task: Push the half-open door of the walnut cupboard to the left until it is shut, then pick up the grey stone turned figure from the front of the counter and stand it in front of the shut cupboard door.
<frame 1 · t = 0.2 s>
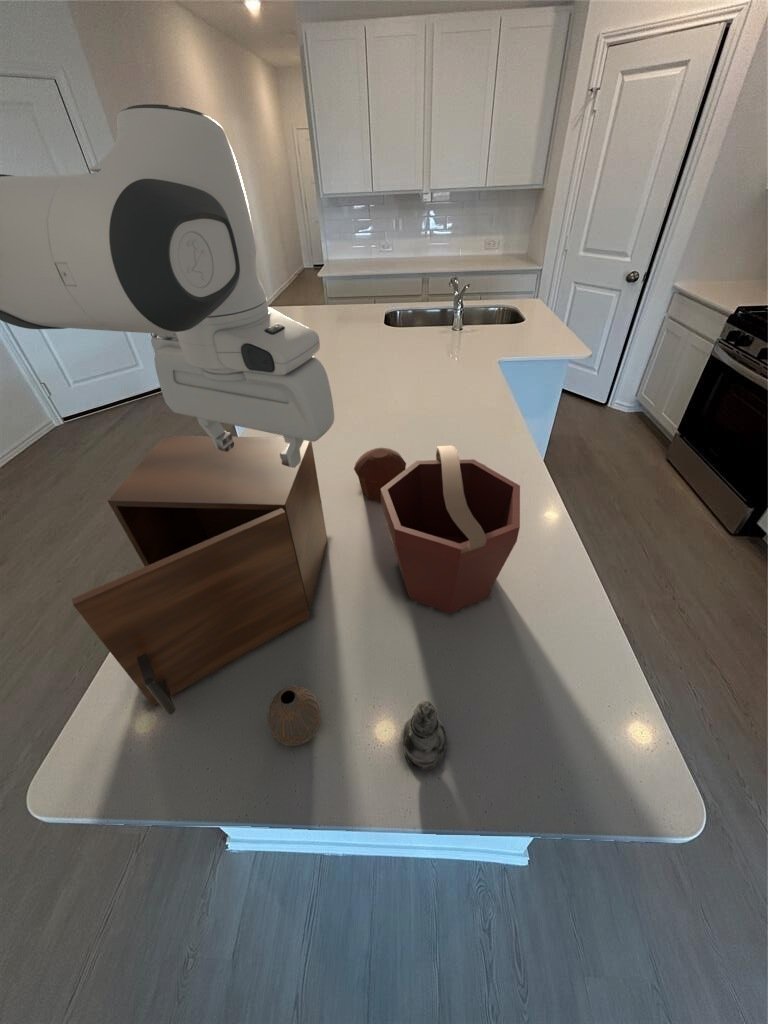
hand: (257, 456, 51), 34 cm above the counter, tool pointing down, fingers open, 8 cm apart
grey stone turned figure: (423, 749, 59), on the counter
bucket: (441, 576, 82), on the counter
cupboard: (252, 570, 84), on the counter
vase: (298, 727, 61), on the counter
cupboard door: (221, 621, 61), point 12 cm above the counter, hinge at 40.0°
muffin: (381, 490, 102), on the counter
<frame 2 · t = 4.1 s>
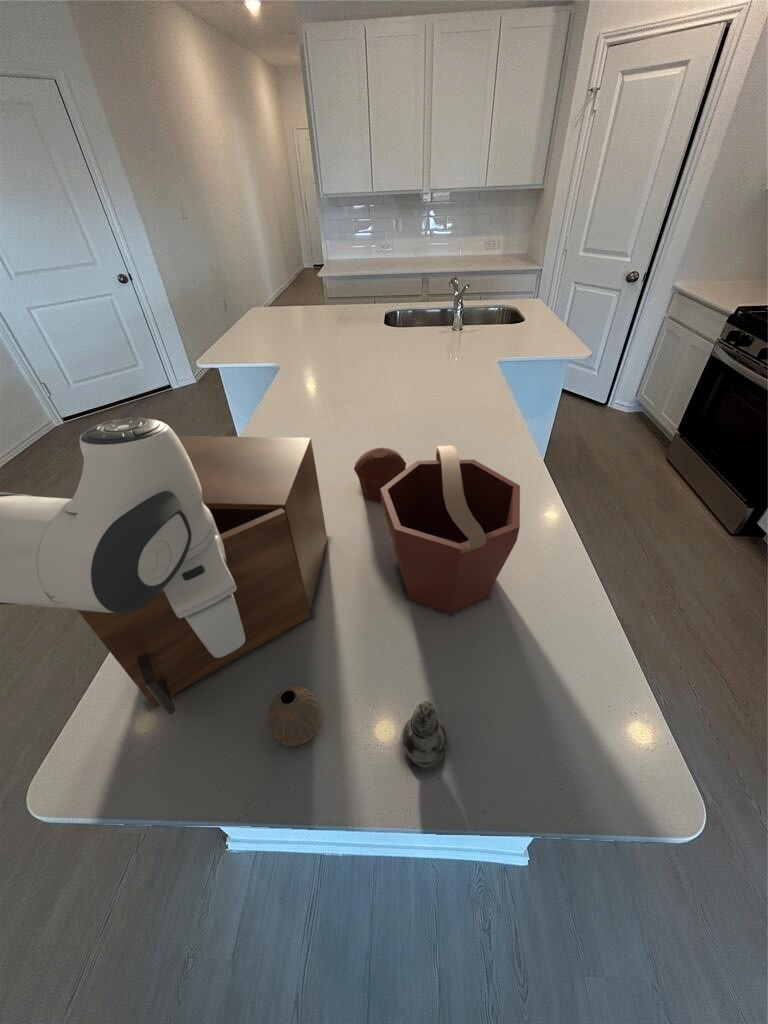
hand: (215, 620, 59), 13 cm above the counter, tool pointing down, fingers closed
cupboard door: (221, 621, 61), point 12 cm above the counter, hinge at 40.0°, touching gripper
everything else where it was.
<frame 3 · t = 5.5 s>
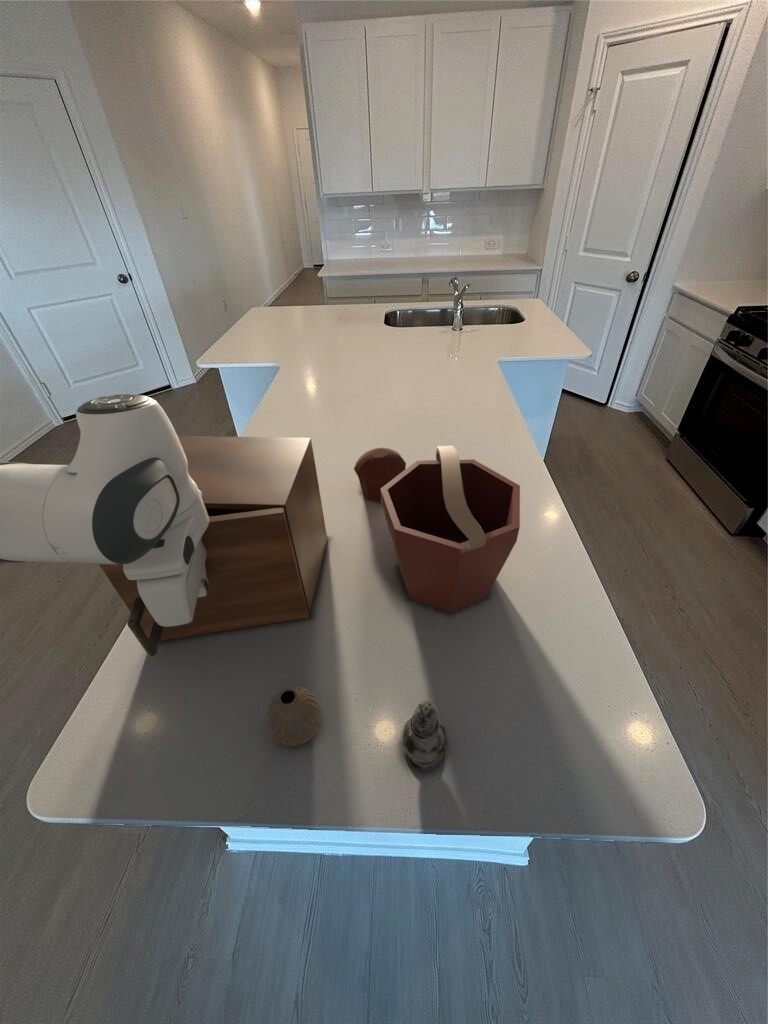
hand: (202, 590, 64), 13 cm above the counter, tool pointing down, fingers closed
cupboard door: (208, 593, 65), point 12 cm above the counter, hinge at 13.8°, touching gripper
everything else where it was.
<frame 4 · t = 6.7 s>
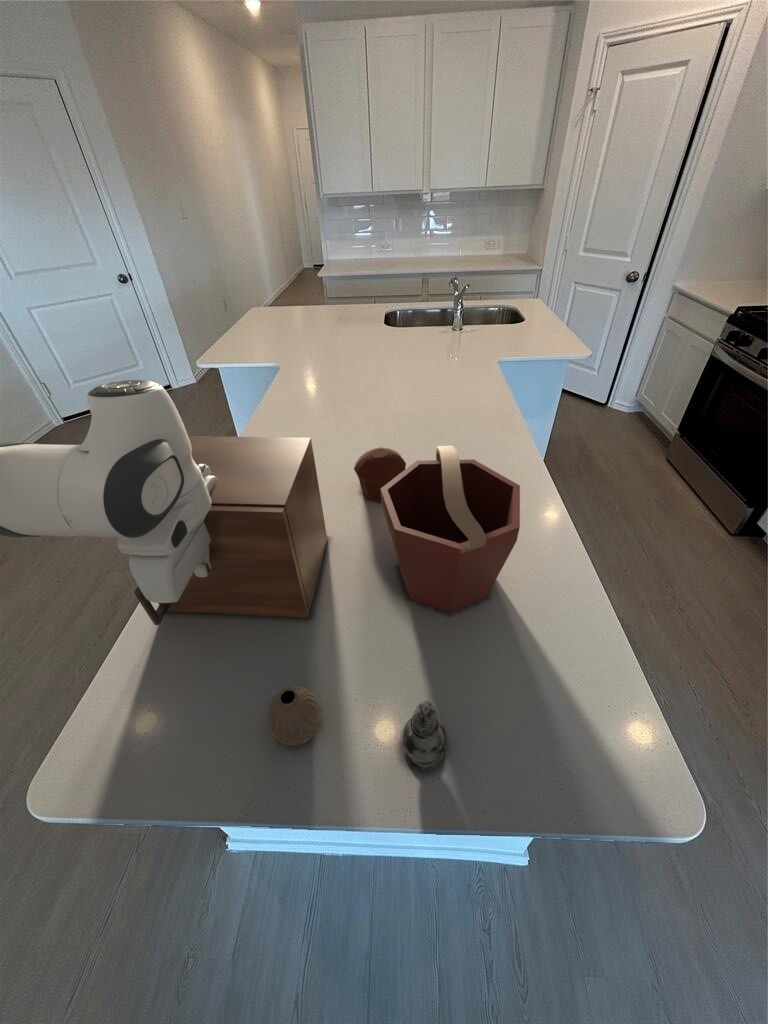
hand: (204, 572, 66), 13 cm above the counter, tool pointing down, fingers closed
cupboard door: (210, 577, 67), point 12 cm above the counter, hinge at -0.2°, touching gripper
everything else where it was.
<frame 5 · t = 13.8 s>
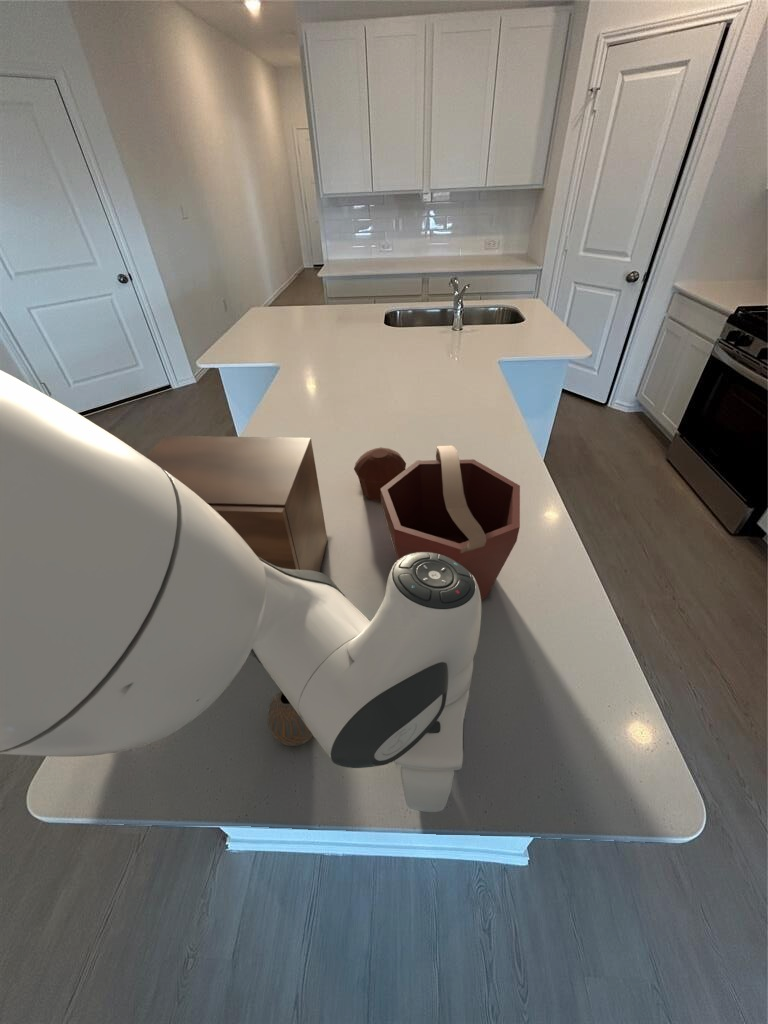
hand: (424, 732, 55), 5 cm above the counter, tool pointing down, fingers closed on grey stone turned figure, 3 cm apart
grey stone turned figure: (423, 749, 59), on the counter, touching gripper
cupboard door: (210, 577, 67), point 12 cm above the counter, hinge at -0.2°
everything else where it was.
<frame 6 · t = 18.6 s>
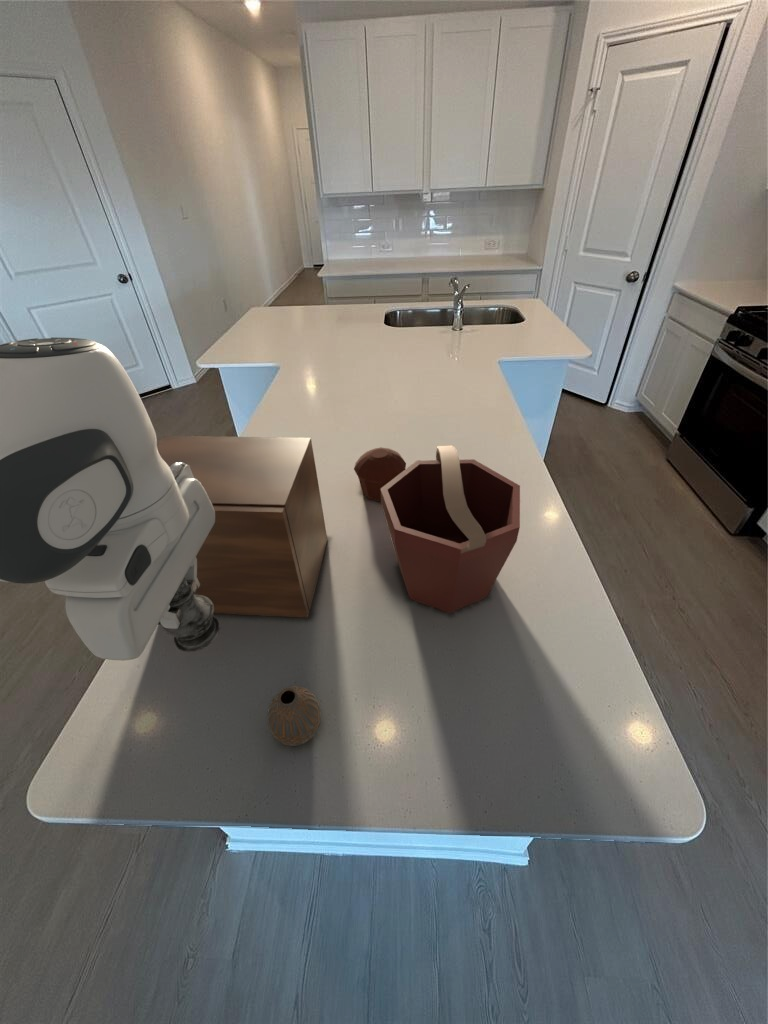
hand: (183, 606, 50), 22 cm above the counter, tool pointing down, fingers closed on grey stone turned figure, 3 cm apart
grey stone turned figure: (197, 633, 53), point 17 cm above the counter, touching gripper
everything else where it was.
when the fingers open (5 cm above the counter, at t = 23.6 s): grey stone turned figure stays where it is, on the counter.
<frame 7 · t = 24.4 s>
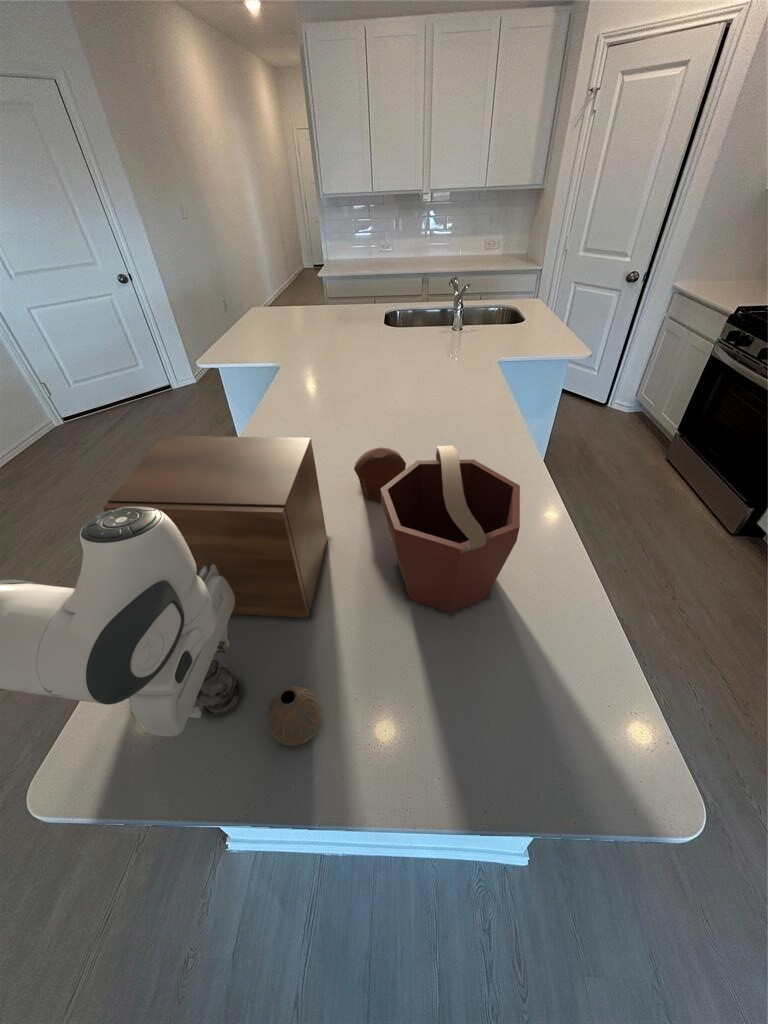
hand: (210, 678, 61), 5 cm above the counter, tool pointing down, fingers open, 8 cm apart
grey stone turned figure: (221, 698, 65), on the counter
everything else where it was.
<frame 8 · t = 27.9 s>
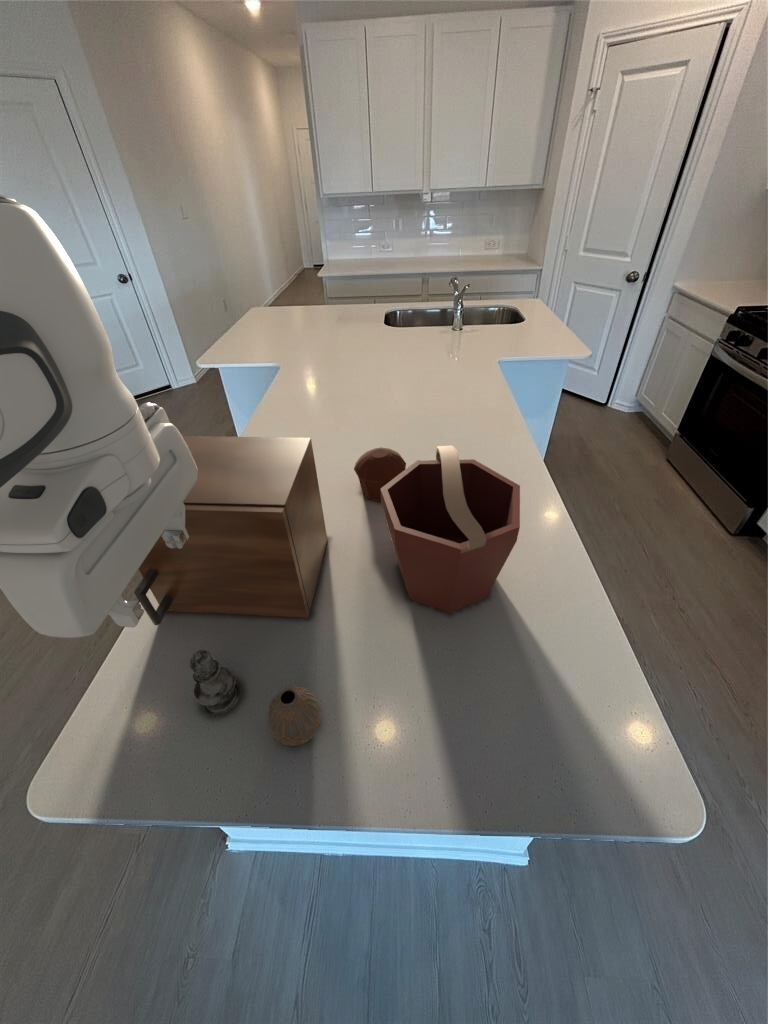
hand: (157, 578, 42), 31 cm above the counter, tool pointing down, fingers open, 8 cm apart
nothing on the counter moved.
at the end: cupboard door at +0° (first picture: +40°); grey stone turned figure inside the target area on the counter beside the cupboard (0.3 cm from its centre), on the counter; grey stone turned figure tilted 0° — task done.
